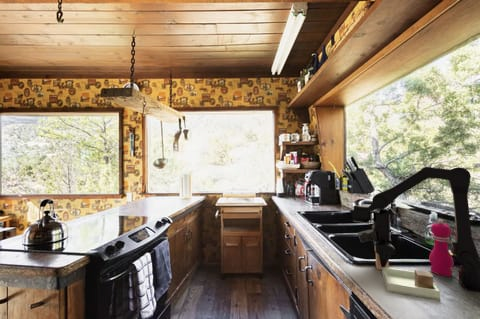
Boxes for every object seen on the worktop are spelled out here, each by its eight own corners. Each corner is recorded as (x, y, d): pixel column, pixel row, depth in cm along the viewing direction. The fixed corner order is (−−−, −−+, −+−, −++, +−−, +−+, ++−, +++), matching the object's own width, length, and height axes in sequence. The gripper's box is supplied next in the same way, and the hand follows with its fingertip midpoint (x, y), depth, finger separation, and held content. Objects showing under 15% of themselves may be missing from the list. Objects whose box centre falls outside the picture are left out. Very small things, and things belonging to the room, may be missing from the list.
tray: (426, 280, 88) (426, 273, 88) (440, 300, 75) (440, 291, 75) (382, 274, 93) (382, 267, 93) (388, 291, 80) (387, 283, 80)
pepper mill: (431, 274, 93) (430, 220, 93) (427, 267, 99) (426, 216, 100) (456, 278, 89) (455, 222, 90) (450, 270, 96) (450, 218, 96)
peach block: (387, 266, 99) (387, 253, 99) (388, 270, 96) (388, 257, 96) (375, 264, 101) (375, 252, 101) (376, 268, 97) (376, 255, 97)
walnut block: (429, 287, 82) (429, 271, 82) (433, 293, 78) (433, 276, 78) (414, 284, 83) (414, 269, 83) (418, 290, 80) (417, 274, 80)
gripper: (357, 218, 110) (358, 254, 110) (360, 228, 93) (360, 271, 93) (386, 220, 106) (387, 257, 106) (395, 231, 89) (395, 276, 89)
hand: (382, 264), depth 98 cm, fingers closed on peach block, 4 cm apart
